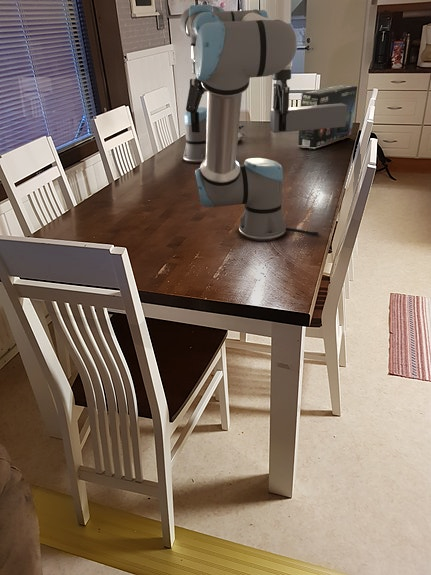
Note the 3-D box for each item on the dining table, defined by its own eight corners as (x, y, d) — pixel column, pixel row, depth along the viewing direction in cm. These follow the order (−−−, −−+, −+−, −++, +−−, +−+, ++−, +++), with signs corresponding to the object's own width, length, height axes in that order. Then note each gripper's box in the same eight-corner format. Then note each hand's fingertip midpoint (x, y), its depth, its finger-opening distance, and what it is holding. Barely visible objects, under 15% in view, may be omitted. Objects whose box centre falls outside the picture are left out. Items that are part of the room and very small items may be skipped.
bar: (339, 124, 199) (341, 103, 194) (345, 126, 194) (347, 105, 189) (270, 130, 194) (270, 108, 190) (274, 133, 189) (274, 111, 185)
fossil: (235, 139, 243) (216, 121, 246) (225, 155, 249) (206, 138, 252) (251, 137, 256) (233, 120, 260) (241, 153, 263) (223, 137, 266)
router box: (314, 151, 231) (318, 94, 217) (296, 148, 237) (299, 92, 224) (352, 138, 251) (358, 85, 238) (335, 135, 258) (340, 83, 245)
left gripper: (266, 67, 188) (265, 125, 200) (279, 71, 172) (278, 134, 184) (283, 66, 189) (281, 124, 201) (299, 70, 173) (296, 133, 185)
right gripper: (212, 56, 160) (214, 120, 171) (171, 64, 141) (177, 134, 152) (231, 56, 156) (232, 121, 167) (192, 64, 138) (196, 136, 149)
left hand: (280, 129), depth 192 cm, fingers closed on bar, 6 cm apart
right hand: (206, 128), depth 160 cm, fingers open, 13 cm apart
